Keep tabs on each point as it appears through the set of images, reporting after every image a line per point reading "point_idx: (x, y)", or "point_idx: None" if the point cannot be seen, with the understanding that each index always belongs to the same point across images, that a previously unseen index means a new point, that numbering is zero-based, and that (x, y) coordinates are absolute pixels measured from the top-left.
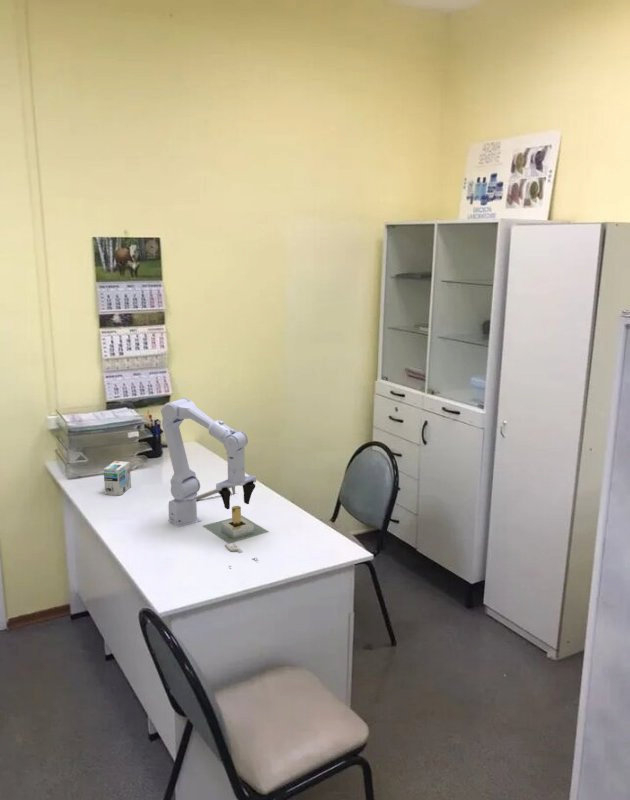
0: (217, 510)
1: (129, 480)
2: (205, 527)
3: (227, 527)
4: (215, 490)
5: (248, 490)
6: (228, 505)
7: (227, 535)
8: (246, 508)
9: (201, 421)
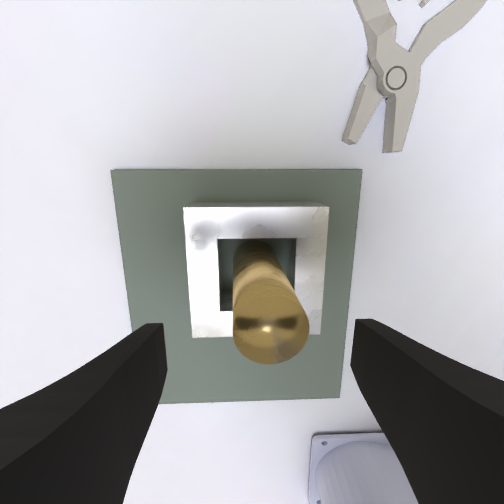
0: (202, 489)
1: None
2: (339, 378)
3: (323, 268)
4: None
5: (70, 444)
6: (391, 332)
7: None
8: None
9: None
